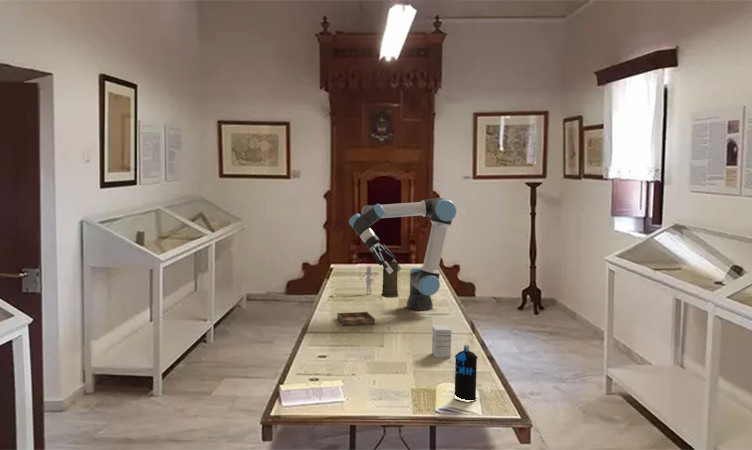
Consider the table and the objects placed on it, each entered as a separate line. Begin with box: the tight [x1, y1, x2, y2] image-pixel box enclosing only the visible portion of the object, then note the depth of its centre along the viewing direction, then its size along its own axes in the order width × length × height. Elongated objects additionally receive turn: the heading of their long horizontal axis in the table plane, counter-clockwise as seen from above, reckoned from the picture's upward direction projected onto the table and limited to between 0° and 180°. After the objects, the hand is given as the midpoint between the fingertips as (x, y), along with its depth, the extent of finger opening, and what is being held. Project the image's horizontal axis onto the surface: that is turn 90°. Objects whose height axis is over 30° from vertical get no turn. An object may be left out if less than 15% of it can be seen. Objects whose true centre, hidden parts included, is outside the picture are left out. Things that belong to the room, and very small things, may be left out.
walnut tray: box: [336, 311, 376, 327], centre depth 382 cm, size 17×17×3 cm
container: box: [381, 261, 399, 299], centre depth 384 cm, size 9×9×18 cm
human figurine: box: [359, 265, 379, 295], centre depth 452 cm, size 12×4×18 cm, turn 97°
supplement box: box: [431, 325, 452, 359], centre depth 320 cm, size 7×7×13 cm
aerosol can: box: [454, 344, 479, 401], centre depth 265 cm, size 8×8×20 cm
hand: (395, 271), depth 382 cm, fingers closed on container, 8 cm apart
